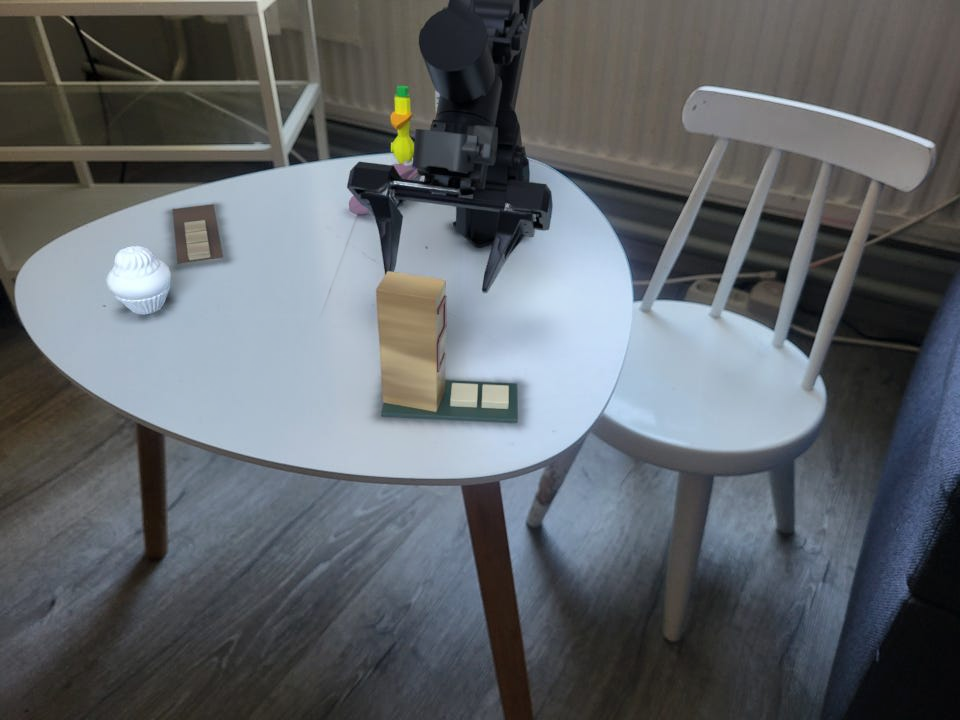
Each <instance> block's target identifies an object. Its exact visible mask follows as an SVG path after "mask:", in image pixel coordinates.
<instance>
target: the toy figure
mask: <svg viewBox="0 0 960 720" xmlns="http://www.w3.org/2000/svg"><path fill="white" fill-rule="evenodd" d="M410 97H411V94H410V93H409V86H407V85H396V93H394V98H393V100H394V110H393V111H392V113H391V114H390V117H389V119H390V124H391V126H392V128H393V129H394V130H396V131H397V136H396V137H395V139H394V140H393V142H390V153H393V156H394V157H395V159H396V161H397V162H398V164H403V163H404V162H405V161H406V160H408V162H409V163H411V162H412V161H413V153H414V142H415V141H413V139H412V138H411V136H410V127H411V119H412V117H413V112H411V111H412V110H411V109H412V107H411V98H410Z"/></svg>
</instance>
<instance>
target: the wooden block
mask: <svg viewBox="0 0 960 720" xmlns="http://www.w3.org/2000/svg"><path fill="white" fill-rule="evenodd" d="M376 287H377V288H376V289H375V298H376V313H377V314H376V315H377V330H378V346H379V347H378V349H379V361H380V377H381V378H380V379H381V393H382V394H381V395H382V404H383V403H389V404H394V405H400V406H405V407H411V408H417V409H422V410H428V411H433V412H437V410H438V407H439V405H440V402H441V400H442V397H443V395H444V393H445V380H446V330H447V318H448V317H447V314H448V313H447V307H448V306H447V305H448V304H447V303H448V302H447V299H448V298H447V297H448V296H447V291H446V290H447V280H446V279H442V278H435V277H429V276H423V275H418V274H417V275H416V274H410V273H403V272H396V271H394V272H391V271H387V273H386V275H385V274H384V276H383V278H382V280H381V281H380V282H379V284H378V285H377V286H376Z"/></svg>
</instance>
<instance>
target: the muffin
mask: <svg viewBox="0 0 960 720" xmlns="http://www.w3.org/2000/svg"><path fill="white" fill-rule="evenodd" d="M114 257H115V258H114V259H113V260H114V264H113V266H112V269H110V271H109V273H108V274H107V276H106V285H107V288H108V290H109V291H110V292H111V294H113V296H114V297H115V298H116V300H118V301H119V302H120V303H122V304H123V305H124V306H125V307H126V308H128V309H129V310H130V311H131V312H132V313H134V314H136V315H142V316H143V315H145V316H146V315H150V314H153V313H156V312H159V311H160V310H161V309H162V308H163V305H165V303H166V300H167V297H168V294H169V291H170V288H171V281H172V272H171V269H170V267H169V266H168V264H166V262H164V261H162V260H161V259H158V258H157V257H155V256H154V255H153V253H152V251H151V250H150V249H149V248H147V247H144V246H142V245H131V246H127V247H123V248H122V249H120V250H119V251H118V252H117V253H116V254H115V256H114Z"/></svg>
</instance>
